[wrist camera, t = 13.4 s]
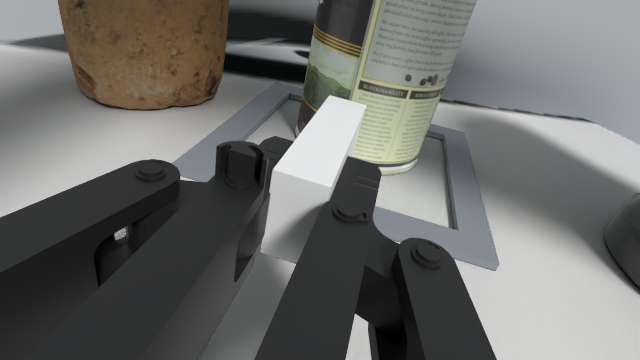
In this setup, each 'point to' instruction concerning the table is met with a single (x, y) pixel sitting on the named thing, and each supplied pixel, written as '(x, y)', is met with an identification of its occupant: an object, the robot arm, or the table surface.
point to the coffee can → (384, 69)
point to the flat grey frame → (466, 202)
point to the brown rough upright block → (146, 50)
